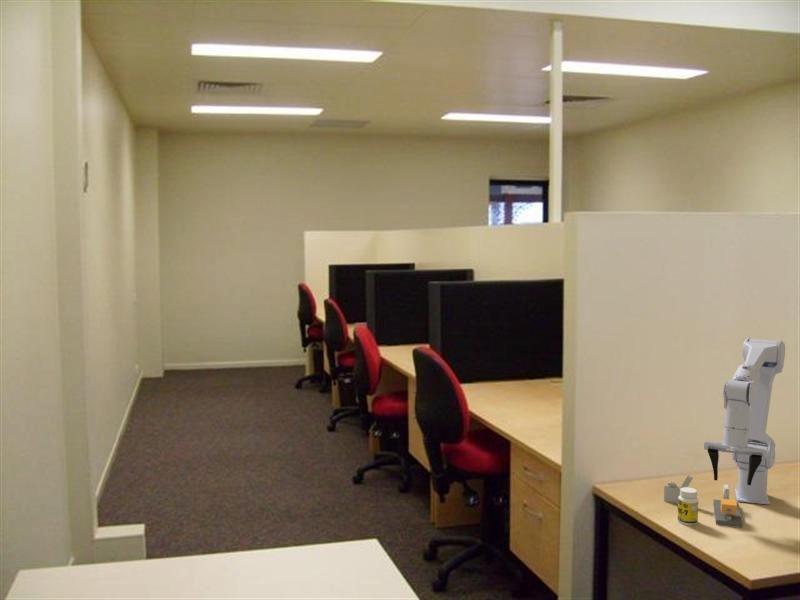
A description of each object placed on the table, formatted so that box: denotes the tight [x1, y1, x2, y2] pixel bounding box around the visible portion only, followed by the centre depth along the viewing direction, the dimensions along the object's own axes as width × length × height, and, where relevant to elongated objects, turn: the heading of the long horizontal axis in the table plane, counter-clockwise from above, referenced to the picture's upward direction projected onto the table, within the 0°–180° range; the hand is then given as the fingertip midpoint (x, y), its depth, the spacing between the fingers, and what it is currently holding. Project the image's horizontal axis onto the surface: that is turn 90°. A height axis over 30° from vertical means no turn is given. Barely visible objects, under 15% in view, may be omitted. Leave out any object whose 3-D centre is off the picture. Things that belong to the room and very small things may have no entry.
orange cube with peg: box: [720, 498, 737, 515], centre depth 188 cm, size 5×4×2 cm, turn 159°
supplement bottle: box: [677, 486, 699, 526], centre depth 188 cm, size 5×5×8 cm
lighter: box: [663, 474, 694, 505], centre depth 201 cm, size 7×2×8 cm, turn 55°
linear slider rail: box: [713, 484, 743, 528], centre depth 192 cm, size 15×6×6 cm, turn 159°
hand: (732, 482), depth 187 cm, fingers open, 7 cm apart
